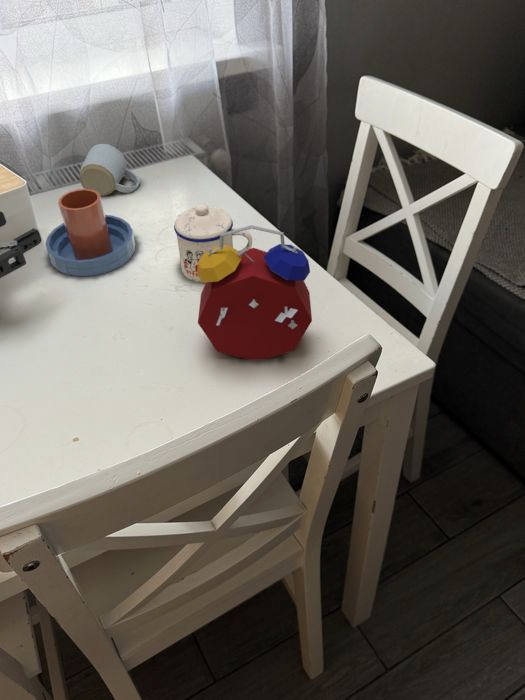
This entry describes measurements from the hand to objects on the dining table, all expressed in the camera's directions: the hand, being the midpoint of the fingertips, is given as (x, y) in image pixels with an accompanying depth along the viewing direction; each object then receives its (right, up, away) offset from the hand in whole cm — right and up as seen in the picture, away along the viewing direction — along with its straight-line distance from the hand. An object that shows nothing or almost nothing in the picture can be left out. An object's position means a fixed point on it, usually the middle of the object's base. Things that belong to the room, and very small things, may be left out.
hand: (20, 225), depth 88 cm
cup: (+7, -2, +13) cm, 15 cm away
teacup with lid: (+28, -5, +10) cm, 30 cm away
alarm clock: (+35, -19, -4) cm, 40 cm away
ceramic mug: (+6, +14, +31) cm, 34 cm away
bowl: (+7, -2, +14) cm, 16 cm away
